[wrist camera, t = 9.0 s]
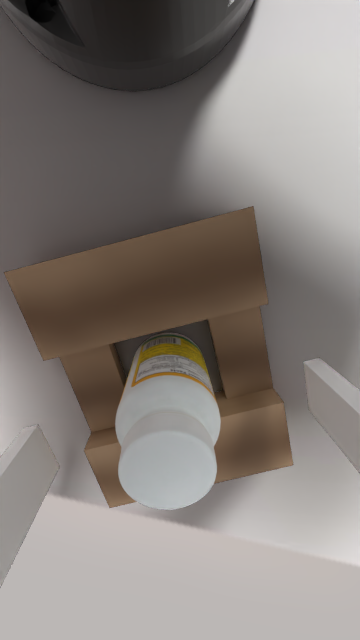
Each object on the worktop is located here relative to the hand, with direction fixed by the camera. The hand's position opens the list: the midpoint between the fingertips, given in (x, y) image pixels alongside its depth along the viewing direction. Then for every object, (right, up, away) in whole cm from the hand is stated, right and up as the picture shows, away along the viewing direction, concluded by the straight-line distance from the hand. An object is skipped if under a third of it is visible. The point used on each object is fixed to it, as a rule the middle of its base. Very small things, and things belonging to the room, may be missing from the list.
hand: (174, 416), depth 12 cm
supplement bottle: (-1, +1, +7) cm, 7 cm away
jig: (0, +2, +7) cm, 7 cm away
